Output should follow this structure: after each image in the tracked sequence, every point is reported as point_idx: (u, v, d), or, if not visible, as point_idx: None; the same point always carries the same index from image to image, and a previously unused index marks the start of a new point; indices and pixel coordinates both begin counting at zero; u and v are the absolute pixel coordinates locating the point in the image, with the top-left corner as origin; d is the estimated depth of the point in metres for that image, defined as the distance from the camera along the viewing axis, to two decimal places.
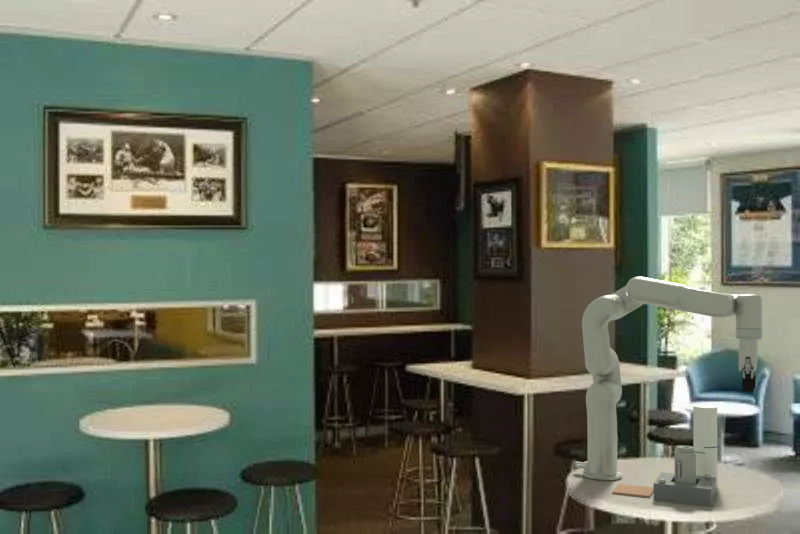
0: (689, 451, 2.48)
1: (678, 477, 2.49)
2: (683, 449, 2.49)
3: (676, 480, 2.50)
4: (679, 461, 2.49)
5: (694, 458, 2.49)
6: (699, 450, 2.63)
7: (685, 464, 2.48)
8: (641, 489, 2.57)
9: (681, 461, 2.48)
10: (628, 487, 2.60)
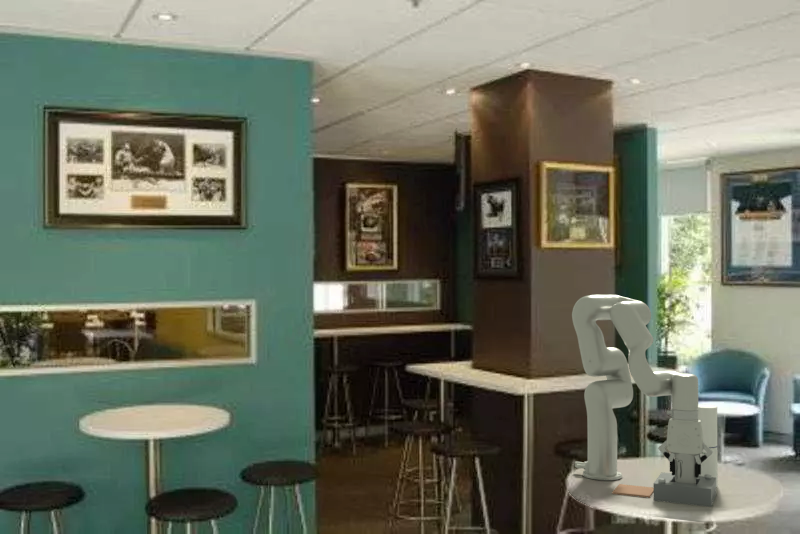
0: None
1: (678, 477, 2.49)
2: None
3: (676, 480, 2.50)
4: (679, 461, 2.49)
5: (694, 458, 2.49)
6: None
7: (685, 464, 2.48)
8: (641, 489, 2.57)
9: (681, 461, 2.48)
10: (628, 487, 2.60)
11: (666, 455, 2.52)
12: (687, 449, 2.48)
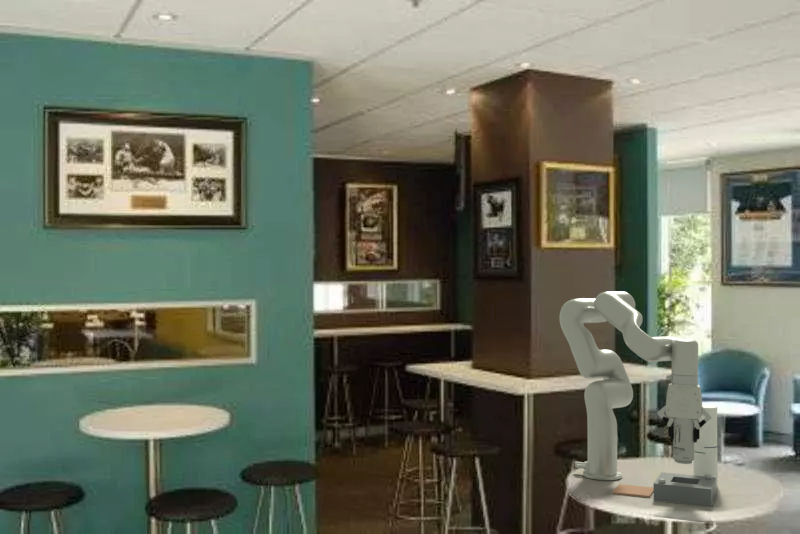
0: None
1: (677, 442, 2.50)
2: None
3: (674, 445, 2.51)
4: (678, 426, 2.49)
5: (693, 422, 2.49)
6: (699, 450, 2.63)
7: (684, 429, 2.48)
8: (641, 489, 2.57)
9: (680, 426, 2.49)
10: (628, 487, 2.60)
11: (665, 420, 2.53)
12: (686, 414, 2.48)
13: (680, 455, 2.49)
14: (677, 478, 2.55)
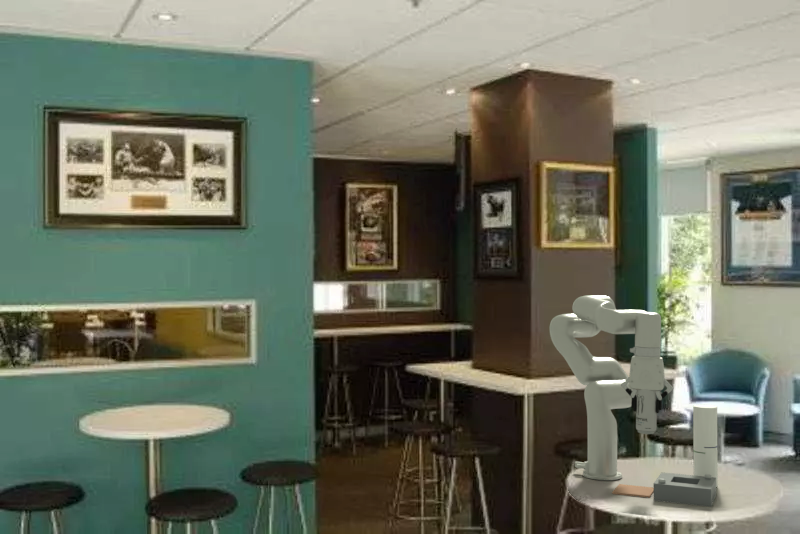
0: None
1: (640, 412, 2.54)
2: None
3: (637, 415, 2.55)
4: (641, 397, 2.54)
5: (655, 394, 2.54)
6: (699, 450, 2.63)
7: (647, 400, 2.53)
8: (641, 489, 2.57)
9: (643, 397, 2.54)
10: (628, 487, 2.60)
11: (628, 391, 2.58)
12: (649, 385, 2.53)
13: (643, 425, 2.54)
14: (677, 478, 2.55)
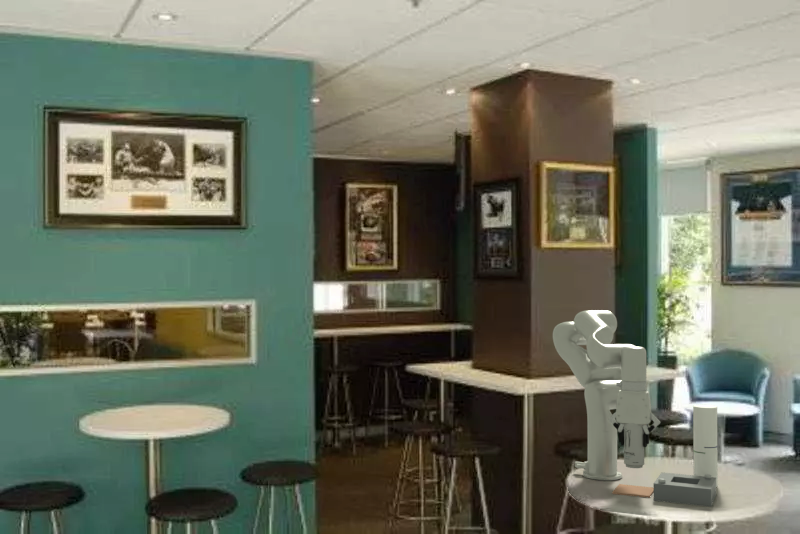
0: None
1: (627, 447, 2.55)
2: None
3: (625, 450, 2.56)
4: (628, 431, 2.55)
5: (642, 428, 2.55)
6: (699, 450, 2.63)
7: (633, 434, 2.54)
8: (641, 489, 2.57)
9: (629, 431, 2.55)
10: (628, 487, 2.60)
11: (616, 426, 2.59)
12: (635, 419, 2.54)
13: (631, 459, 2.55)
14: (677, 478, 2.55)
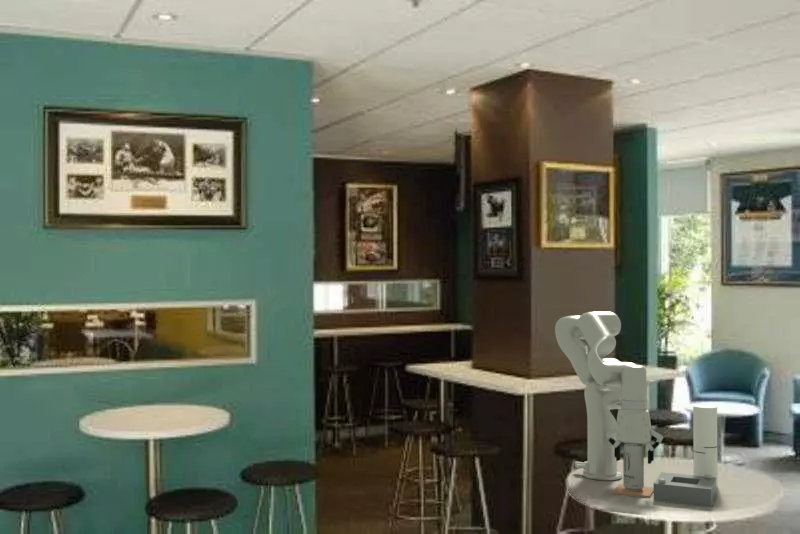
0: (636, 444, 2.55)
1: (627, 470, 2.56)
2: None
3: (624, 473, 2.57)
4: (627, 455, 2.56)
5: (642, 451, 2.55)
6: (699, 450, 2.63)
7: (633, 457, 2.55)
8: None
9: (629, 455, 2.55)
10: None
11: (611, 441, 2.59)
12: (635, 438, 2.54)
13: (630, 483, 2.55)
14: (677, 478, 2.55)
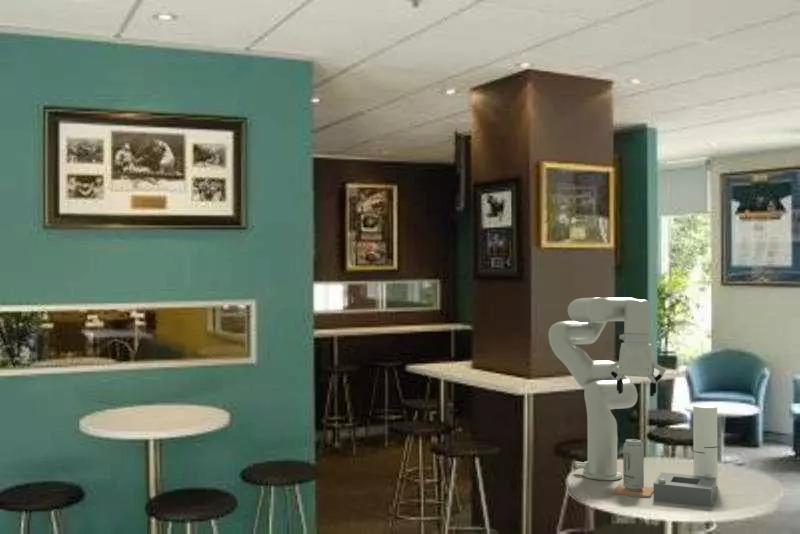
0: (636, 444, 2.55)
1: (627, 470, 2.56)
2: (631, 442, 2.55)
3: (624, 473, 2.57)
4: (627, 455, 2.56)
5: (642, 451, 2.55)
6: (699, 450, 2.63)
7: (633, 457, 2.55)
8: None
9: (629, 455, 2.55)
10: None
11: (613, 374, 2.62)
12: (637, 371, 2.56)
13: (630, 483, 2.55)
14: (677, 478, 2.55)
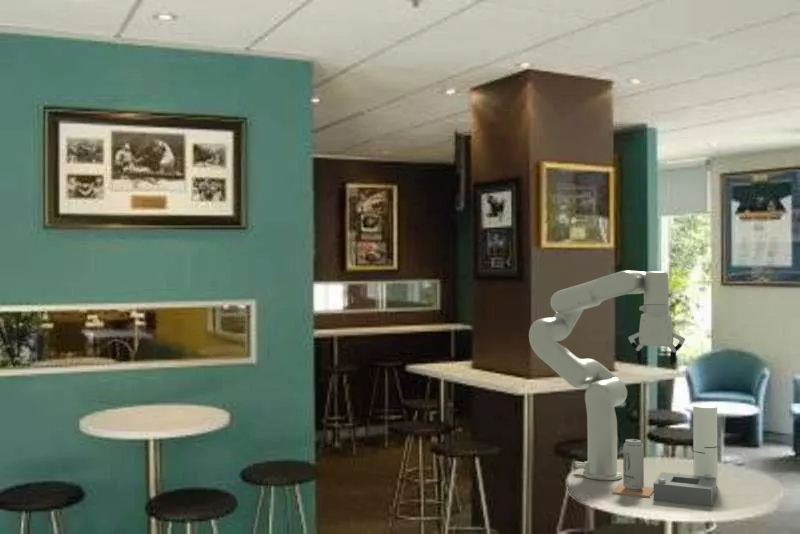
0: (636, 444, 2.55)
1: (627, 470, 2.56)
2: (631, 443, 2.55)
3: (624, 473, 2.57)
4: (627, 455, 2.55)
5: (641, 451, 2.55)
6: (699, 450, 2.63)
7: (633, 457, 2.55)
8: None
9: (629, 455, 2.55)
10: None
11: (634, 345, 2.69)
12: (658, 341, 2.64)
13: (630, 483, 2.55)
14: (677, 478, 2.55)
